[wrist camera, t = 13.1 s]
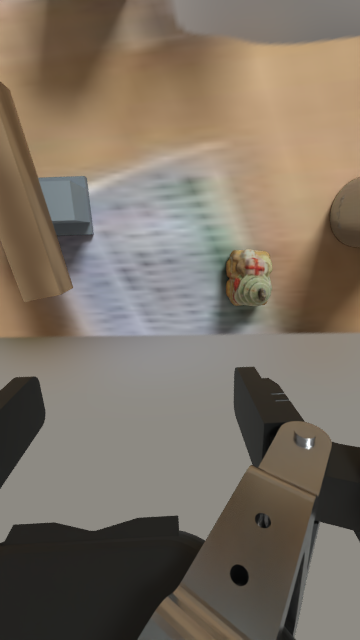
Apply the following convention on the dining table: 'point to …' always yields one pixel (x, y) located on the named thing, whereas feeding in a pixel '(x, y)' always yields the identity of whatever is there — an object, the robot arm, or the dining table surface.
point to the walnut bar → (26, 214)
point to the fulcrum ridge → (68, 204)
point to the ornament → (248, 277)
